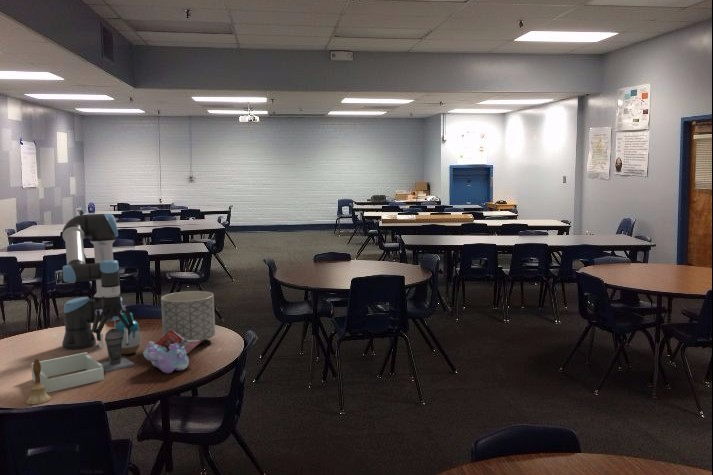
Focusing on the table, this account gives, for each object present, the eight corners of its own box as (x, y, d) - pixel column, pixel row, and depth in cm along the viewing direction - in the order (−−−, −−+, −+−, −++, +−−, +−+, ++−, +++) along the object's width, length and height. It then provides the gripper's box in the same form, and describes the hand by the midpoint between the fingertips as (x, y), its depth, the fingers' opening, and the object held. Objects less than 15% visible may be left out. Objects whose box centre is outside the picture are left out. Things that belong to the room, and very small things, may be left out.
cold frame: (32, 379, 248) (31, 363, 248) (87, 367, 263) (86, 352, 262) (45, 393, 233) (44, 375, 232) (104, 379, 247) (103, 363, 246)
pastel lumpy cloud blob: (135, 367, 247) (157, 330, 247) (141, 350, 268) (161, 316, 268) (180, 387, 253) (201, 351, 253) (182, 369, 274) (202, 335, 274)
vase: (132, 357, 277) (130, 316, 275) (111, 356, 279) (109, 316, 277) (145, 350, 287) (142, 311, 285) (125, 349, 289) (122, 310, 287)
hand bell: (44, 394, 231) (40, 354, 229) (55, 399, 226) (52, 358, 224) (22, 401, 224) (18, 360, 222) (33, 406, 219) (30, 364, 218)
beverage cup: (109, 360, 268) (106, 317, 266) (126, 360, 269) (123, 316, 267) (104, 366, 261) (101, 321, 259) (121, 365, 262) (118, 320, 259)
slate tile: (96, 365, 266) (96, 363, 266) (124, 359, 274) (124, 357, 273) (106, 371, 257) (106, 369, 257) (134, 365, 265) (133, 363, 264)
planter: (187, 334, 315) (185, 289, 313) (225, 339, 304) (223, 293, 302) (152, 346, 293) (149, 298, 290) (192, 352, 282) (190, 303, 279)
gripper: (86, 300, 251) (90, 352, 254) (140, 293, 266) (142, 341, 269) (81, 298, 257) (84, 348, 260) (133, 290, 272) (136, 338, 274)
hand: (114, 345), depth 264 cm, fingers open, 10 cm apart
